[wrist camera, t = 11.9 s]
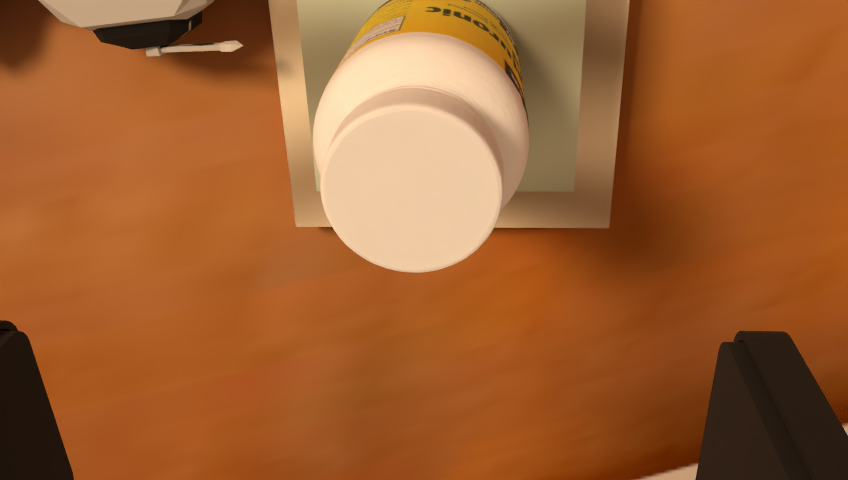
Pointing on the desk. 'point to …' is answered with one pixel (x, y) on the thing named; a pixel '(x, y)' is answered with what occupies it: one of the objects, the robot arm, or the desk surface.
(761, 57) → the desk surface
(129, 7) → the robot toy
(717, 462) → the robot arm
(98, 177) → the desk surface
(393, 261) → the supplement bottle
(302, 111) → the base board
